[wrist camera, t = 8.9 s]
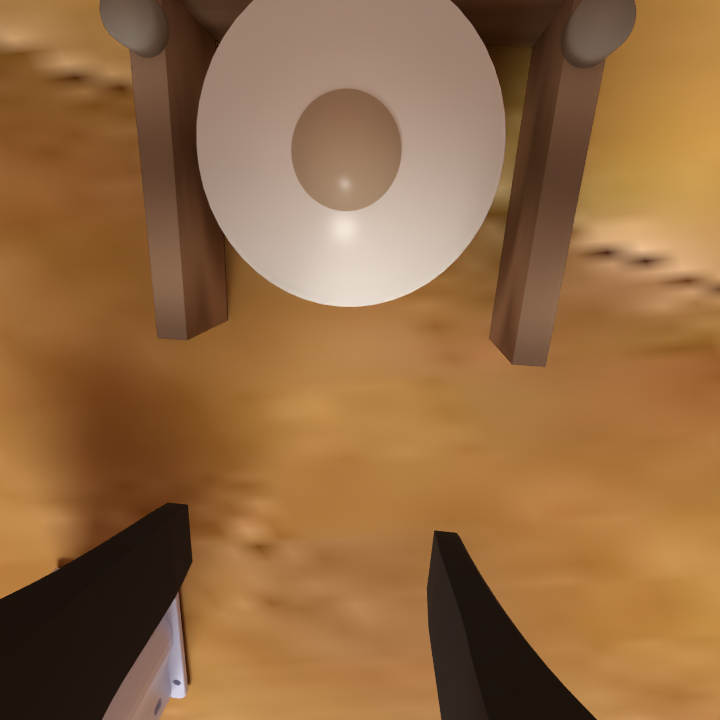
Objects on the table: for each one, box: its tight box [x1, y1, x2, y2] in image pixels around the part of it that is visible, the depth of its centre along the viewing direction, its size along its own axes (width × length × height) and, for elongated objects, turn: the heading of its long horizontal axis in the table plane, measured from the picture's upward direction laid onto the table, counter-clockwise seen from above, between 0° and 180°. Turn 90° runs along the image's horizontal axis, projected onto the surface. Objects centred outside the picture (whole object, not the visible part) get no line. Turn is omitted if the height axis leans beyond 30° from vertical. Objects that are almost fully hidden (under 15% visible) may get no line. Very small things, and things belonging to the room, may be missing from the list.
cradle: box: [100, 0, 636, 367], centre depth 15 cm, size 13×15×5 cm
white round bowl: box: [197, 0, 506, 307], centre depth 15 cm, size 9×9×6 cm
